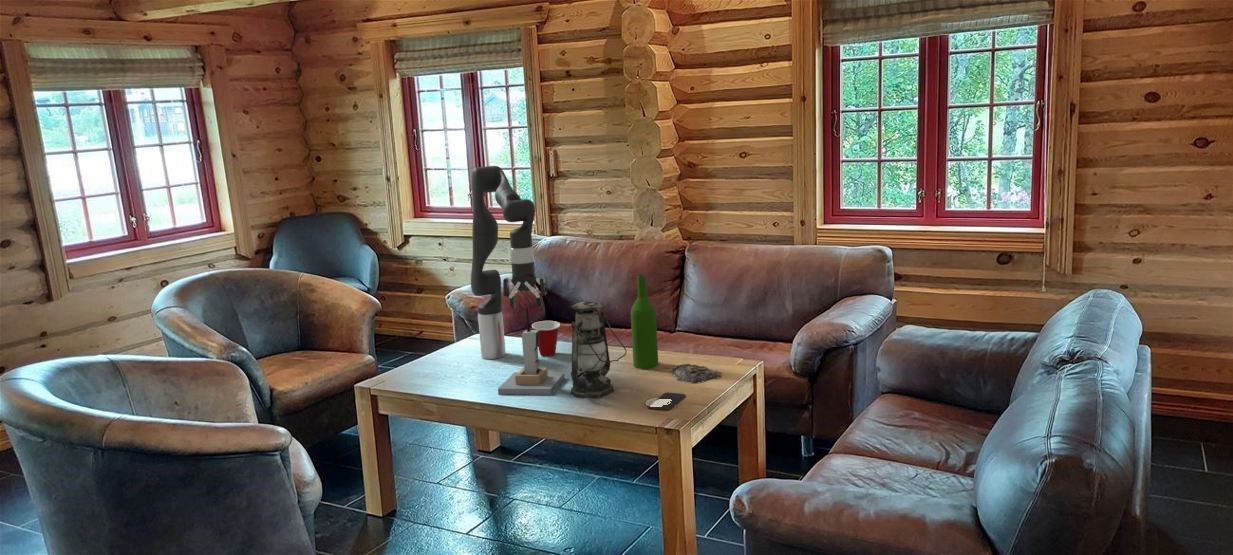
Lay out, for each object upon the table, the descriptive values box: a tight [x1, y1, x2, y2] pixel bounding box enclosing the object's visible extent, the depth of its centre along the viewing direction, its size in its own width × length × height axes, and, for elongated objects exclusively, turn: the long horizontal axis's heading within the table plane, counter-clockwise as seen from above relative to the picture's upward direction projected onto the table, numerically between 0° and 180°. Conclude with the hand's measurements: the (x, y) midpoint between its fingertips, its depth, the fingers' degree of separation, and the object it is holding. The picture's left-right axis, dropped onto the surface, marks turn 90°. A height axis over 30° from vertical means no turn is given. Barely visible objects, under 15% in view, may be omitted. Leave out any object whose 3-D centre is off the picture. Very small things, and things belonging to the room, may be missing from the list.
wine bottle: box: [630, 274, 659, 370], centre depth 313 cm, size 9×9×32 cm
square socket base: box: [497, 367, 566, 396], centre depth 300 cm, size 18×18×5 cm
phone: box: [647, 391, 687, 412], centre depth 276 cm, size 7×1×15 cm
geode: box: [670, 363, 723, 384], centre depth 301 cm, size 19×4×15 cm
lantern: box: [569, 300, 627, 399], centre depth 287 cm, size 19×19×30 cm
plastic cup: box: [531, 320, 561, 357], centre depth 337 cm, size 11×11×12 cm
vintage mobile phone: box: [521, 307, 540, 375], centre depth 298 cm, size 4×5×25 cm
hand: (526, 308), depth 295 cm, fingers open, 8 cm apart
